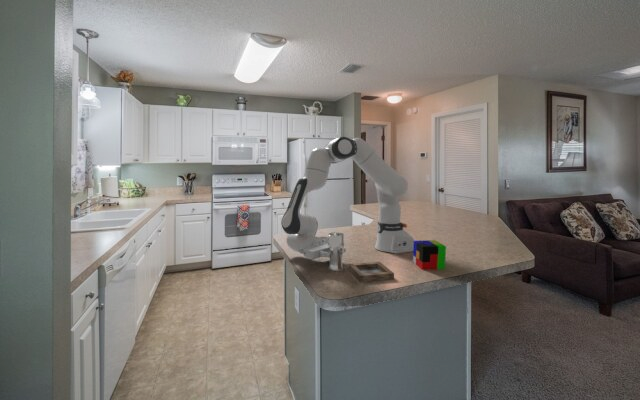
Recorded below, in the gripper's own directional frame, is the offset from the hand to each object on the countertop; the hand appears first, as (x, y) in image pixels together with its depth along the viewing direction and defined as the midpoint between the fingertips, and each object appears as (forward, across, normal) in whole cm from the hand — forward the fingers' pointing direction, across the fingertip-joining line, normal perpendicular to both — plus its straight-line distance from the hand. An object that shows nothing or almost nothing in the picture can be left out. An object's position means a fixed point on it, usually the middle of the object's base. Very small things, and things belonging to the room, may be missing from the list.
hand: (337, 252), depth 128 cm
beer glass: (-1, 0, +7) cm, 7 cm away
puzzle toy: (+25, +32, +7) cm, 41 cm away
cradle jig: (+13, +5, +7) cm, 16 cm away
